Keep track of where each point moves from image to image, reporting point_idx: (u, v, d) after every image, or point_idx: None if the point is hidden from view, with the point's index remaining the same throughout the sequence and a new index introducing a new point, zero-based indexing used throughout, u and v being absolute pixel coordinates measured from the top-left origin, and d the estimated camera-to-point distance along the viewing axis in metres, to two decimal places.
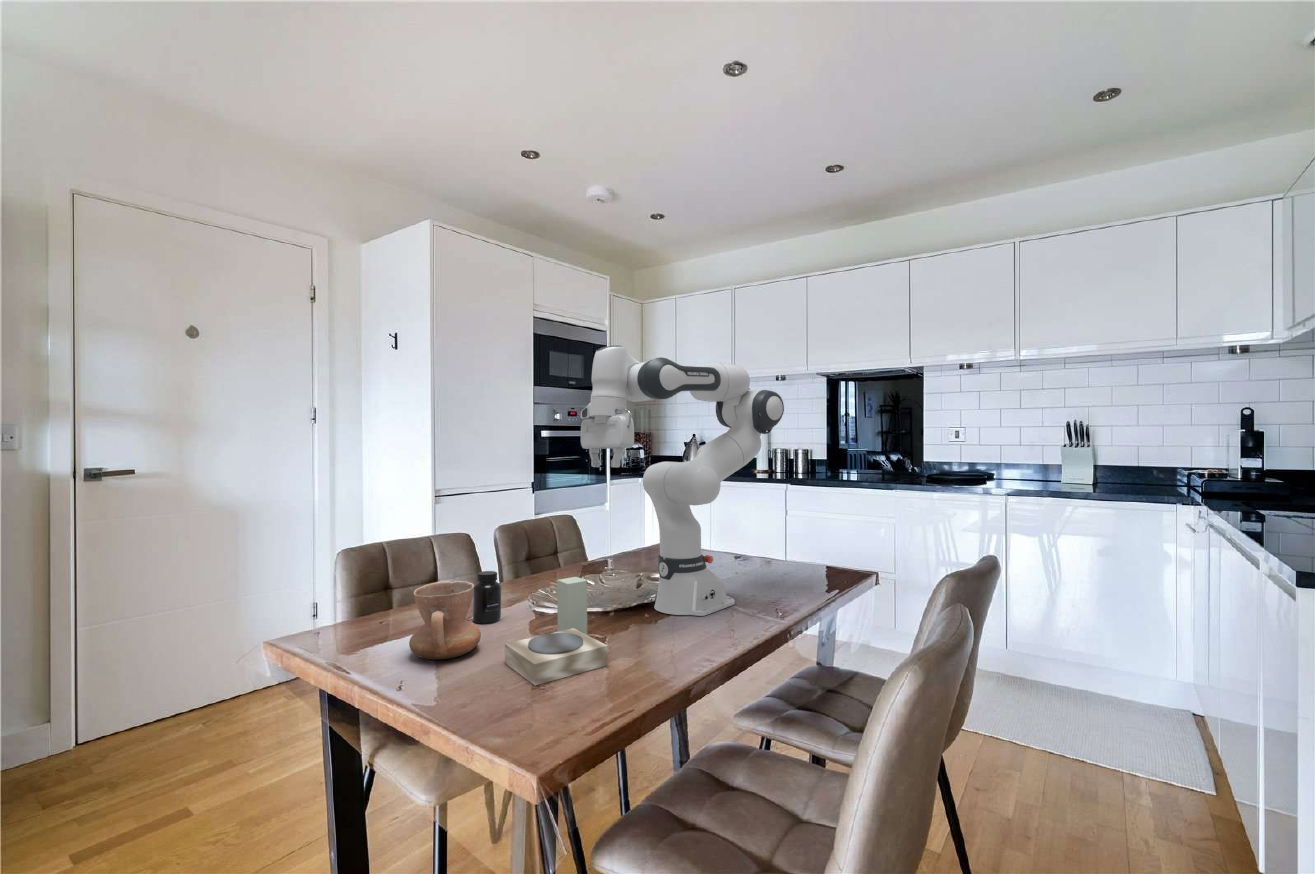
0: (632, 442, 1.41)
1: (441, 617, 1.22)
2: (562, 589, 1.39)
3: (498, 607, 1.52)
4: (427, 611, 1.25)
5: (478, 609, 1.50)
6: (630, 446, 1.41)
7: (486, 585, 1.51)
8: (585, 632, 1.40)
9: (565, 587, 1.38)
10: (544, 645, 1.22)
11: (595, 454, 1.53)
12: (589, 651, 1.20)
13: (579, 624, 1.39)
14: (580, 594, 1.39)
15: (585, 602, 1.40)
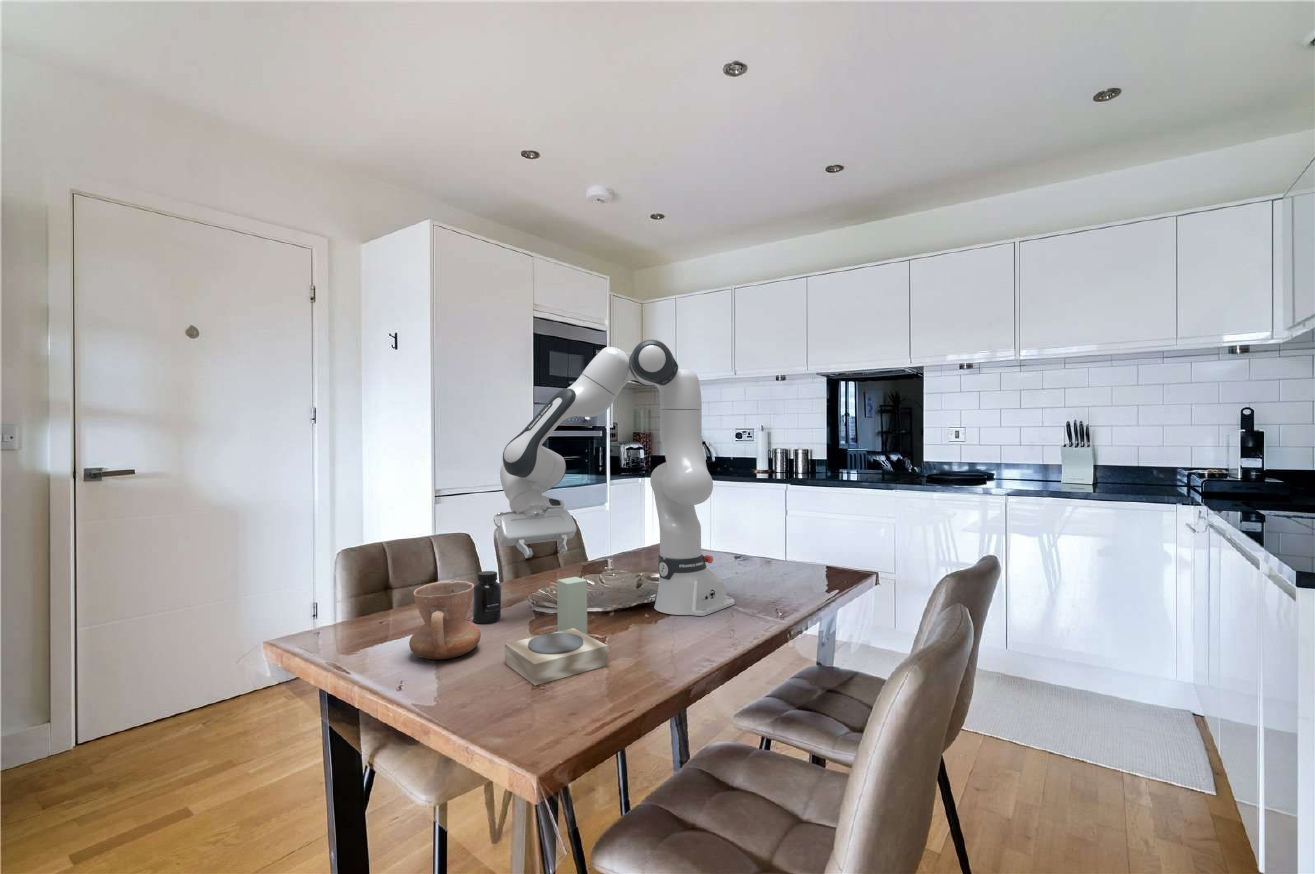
0: (503, 536, 1.47)
1: (441, 617, 1.22)
2: (562, 589, 1.39)
3: (498, 607, 1.52)
4: (426, 611, 1.25)
5: (478, 609, 1.50)
6: (505, 539, 1.47)
7: (486, 585, 1.51)
8: (585, 632, 1.40)
9: (565, 587, 1.38)
10: (544, 645, 1.22)
11: (563, 540, 1.55)
12: (589, 651, 1.20)
13: (579, 624, 1.39)
14: (580, 594, 1.39)
15: (585, 602, 1.40)
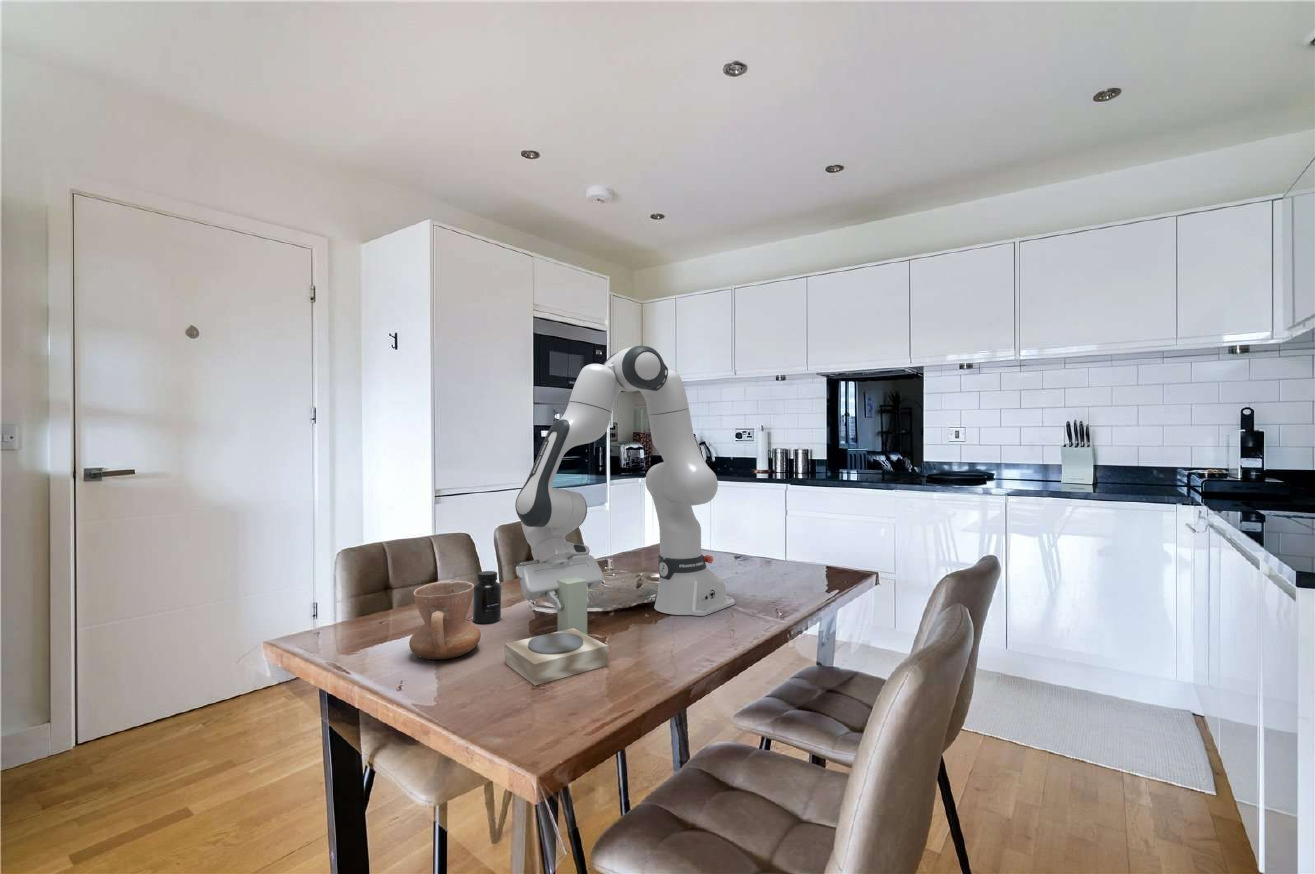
0: (526, 589, 1.37)
1: (441, 617, 1.22)
2: (562, 589, 1.39)
3: (498, 607, 1.52)
4: (426, 611, 1.25)
5: (478, 609, 1.50)
6: (529, 593, 1.37)
7: (486, 585, 1.51)
8: (585, 632, 1.40)
9: (565, 587, 1.38)
10: (544, 645, 1.22)
11: None
12: (589, 651, 1.20)
13: (579, 624, 1.39)
14: (580, 594, 1.39)
15: (585, 602, 1.40)
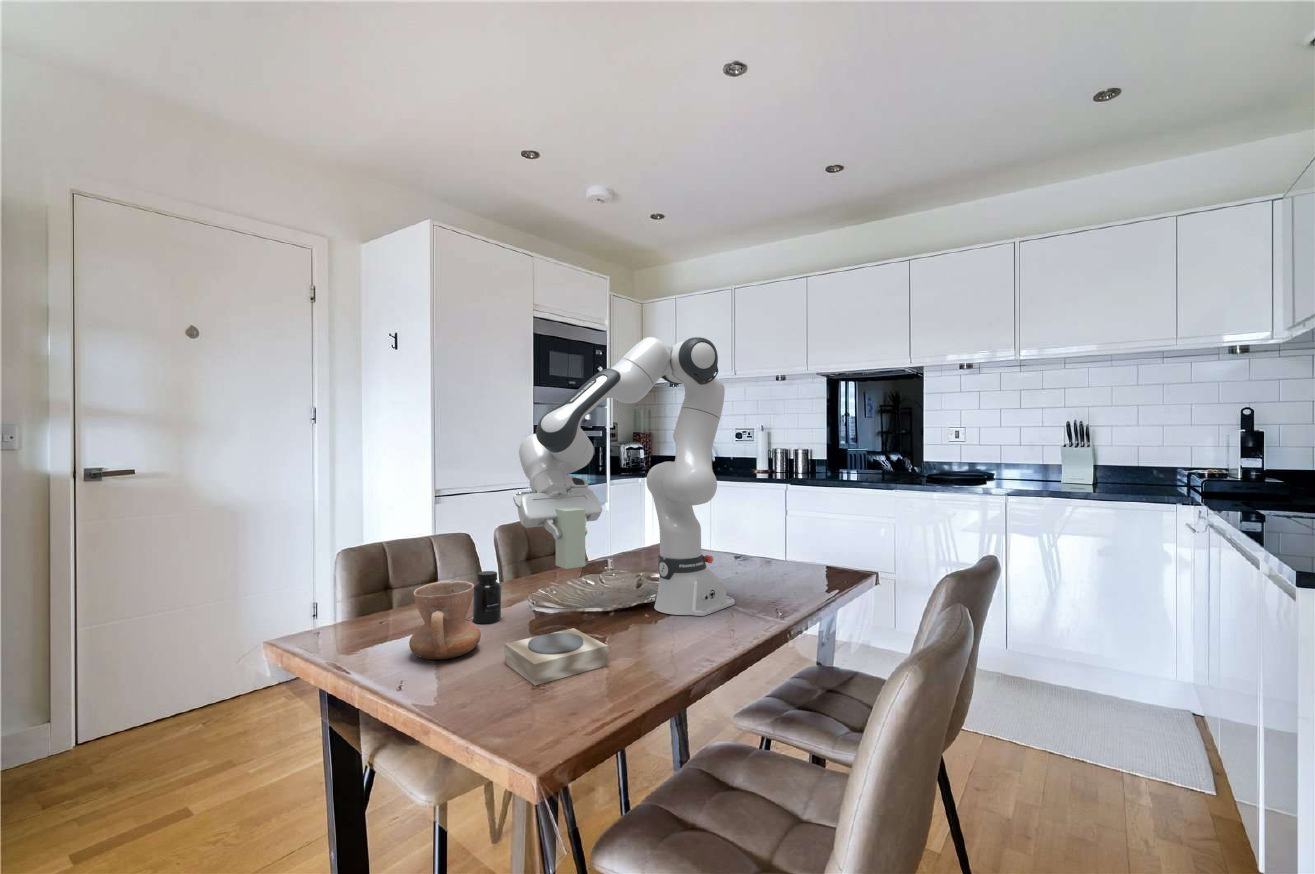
0: (524, 516, 1.36)
1: (441, 617, 1.22)
2: (560, 517, 1.38)
3: (498, 607, 1.52)
4: (426, 611, 1.25)
5: (478, 609, 1.50)
6: (527, 520, 1.36)
7: (486, 585, 1.51)
8: (583, 561, 1.39)
9: (563, 515, 1.37)
10: (544, 645, 1.22)
11: None
12: (589, 651, 1.20)
13: (577, 553, 1.38)
14: (578, 523, 1.38)
15: (583, 531, 1.39)
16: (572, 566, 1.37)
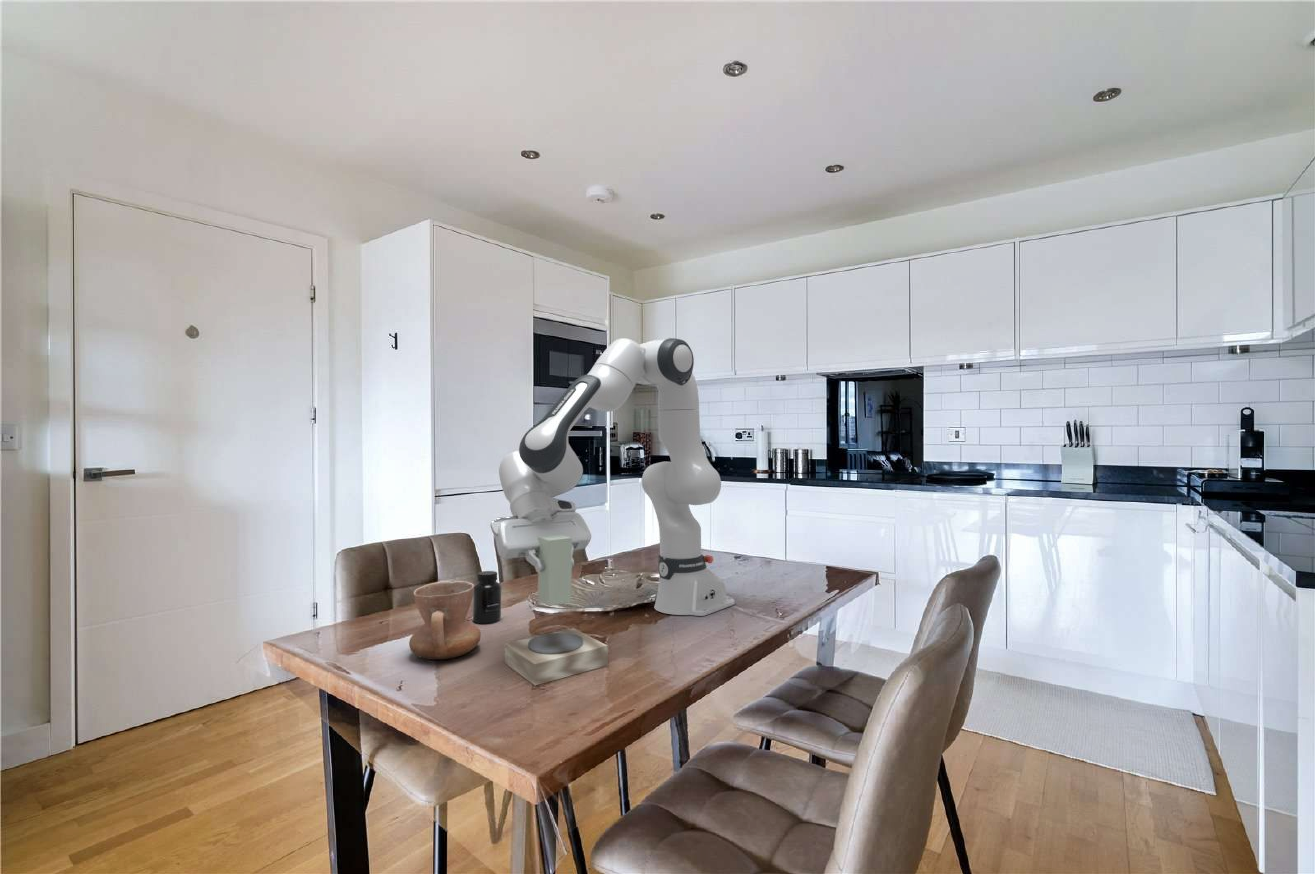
0: (502, 546, 1.20)
1: (441, 617, 1.22)
2: (543, 546, 1.22)
3: (498, 607, 1.52)
4: (427, 611, 1.25)
5: (478, 609, 1.50)
6: (505, 551, 1.20)
7: (486, 585, 1.51)
8: (569, 596, 1.23)
9: (546, 544, 1.21)
10: (544, 645, 1.22)
11: None
12: (589, 651, 1.20)
13: (563, 587, 1.22)
14: (564, 553, 1.22)
15: (569, 562, 1.23)
16: (556, 602, 1.21)
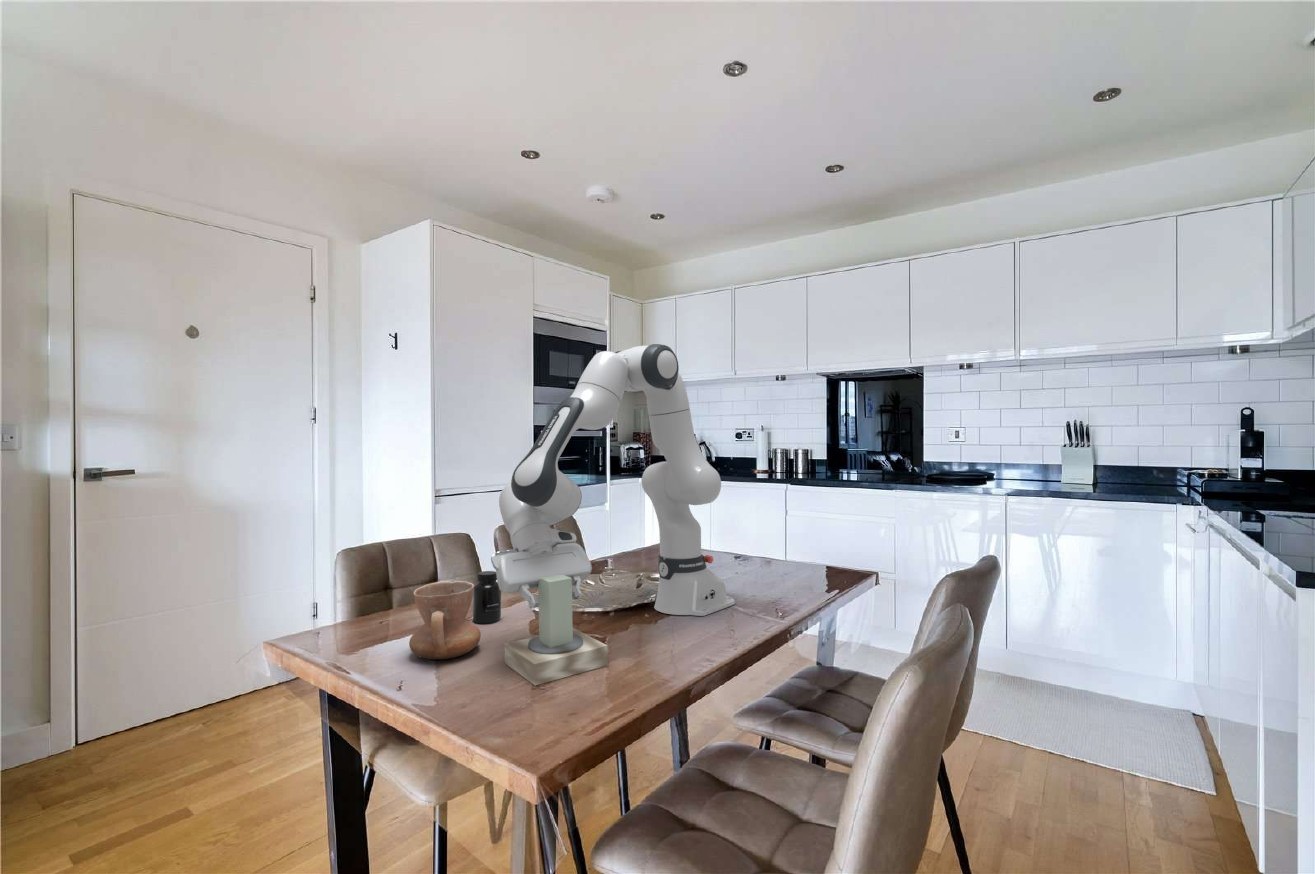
0: (503, 581, 1.20)
1: (441, 617, 1.22)
2: (543, 587, 1.22)
3: (498, 607, 1.52)
4: (426, 611, 1.25)
5: (478, 609, 1.50)
6: (506, 586, 1.20)
7: (486, 585, 1.51)
8: (570, 636, 1.23)
9: (546, 586, 1.21)
10: (544, 645, 1.22)
11: (575, 583, 1.28)
12: (589, 651, 1.20)
13: (563, 628, 1.22)
14: (564, 594, 1.22)
15: (570, 602, 1.23)
16: (557, 643, 1.21)
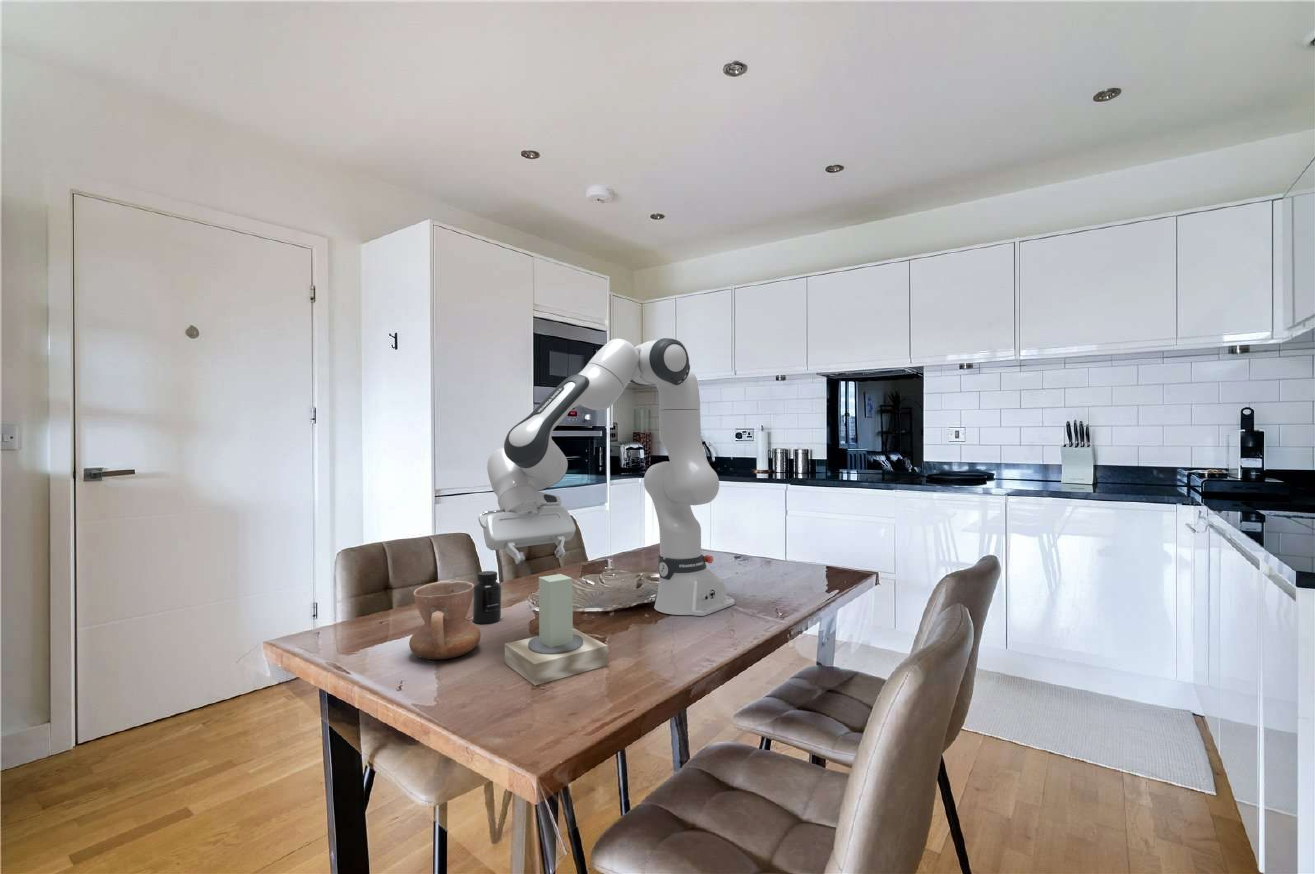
0: (489, 538, 1.26)
1: (441, 617, 1.22)
2: (544, 587, 1.22)
3: (498, 607, 1.52)
4: (426, 611, 1.25)
5: (478, 609, 1.50)
6: (492, 542, 1.25)
7: (486, 585, 1.51)
8: (570, 637, 1.23)
9: (547, 586, 1.21)
10: (544, 645, 1.22)
11: (560, 543, 1.34)
12: (589, 651, 1.20)
13: (564, 628, 1.22)
14: (565, 594, 1.22)
15: (570, 603, 1.23)
16: (557, 644, 1.21)
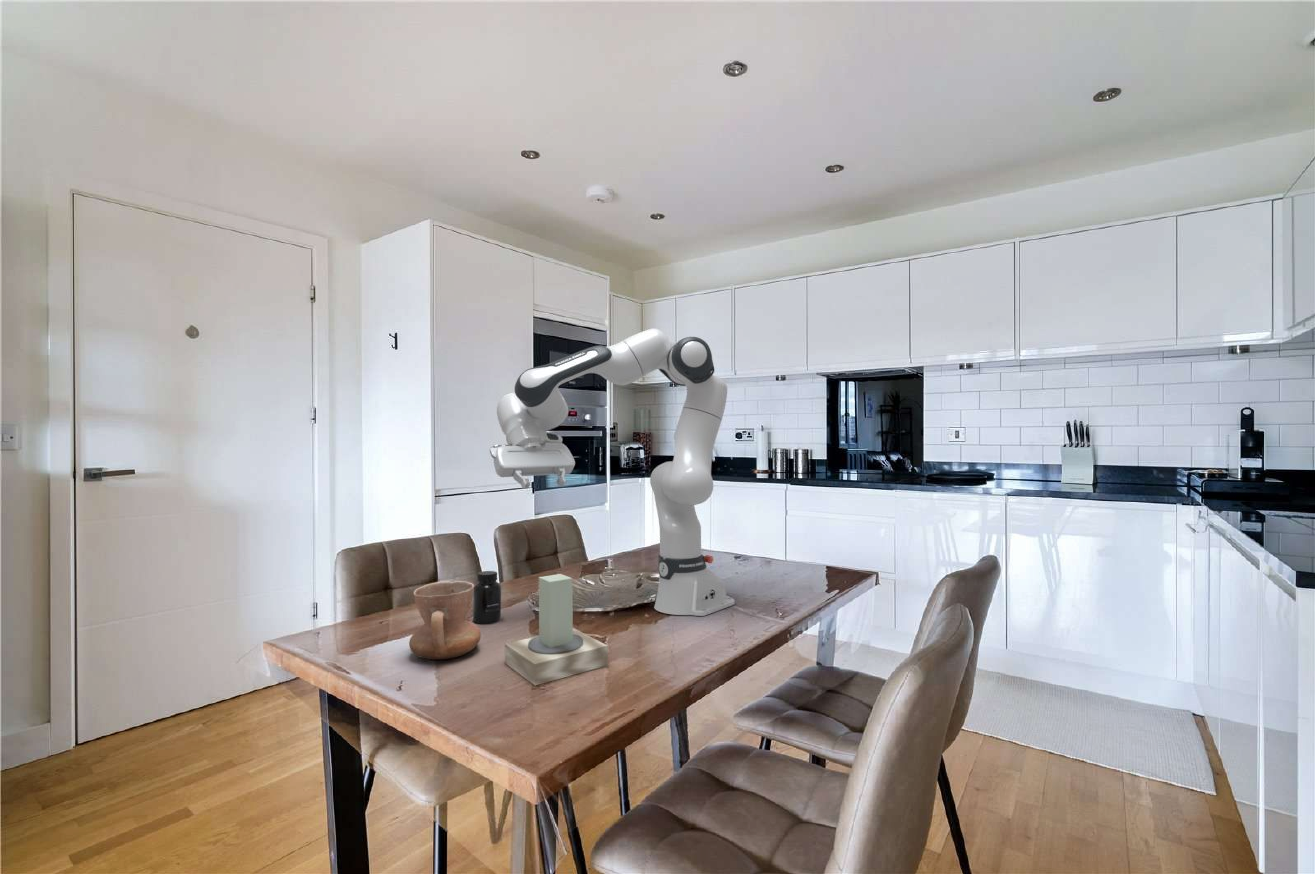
0: (499, 466, 1.43)
1: (441, 617, 1.22)
2: (543, 587, 1.22)
3: (498, 607, 1.52)
4: (426, 611, 1.25)
5: (478, 609, 1.50)
6: (502, 469, 1.43)
7: (486, 585, 1.51)
8: (570, 637, 1.23)
9: (547, 586, 1.21)
10: (544, 645, 1.22)
11: (561, 474, 1.52)
12: (589, 651, 1.20)
13: (564, 628, 1.22)
14: (565, 594, 1.22)
15: (570, 603, 1.23)
16: (557, 644, 1.21)
